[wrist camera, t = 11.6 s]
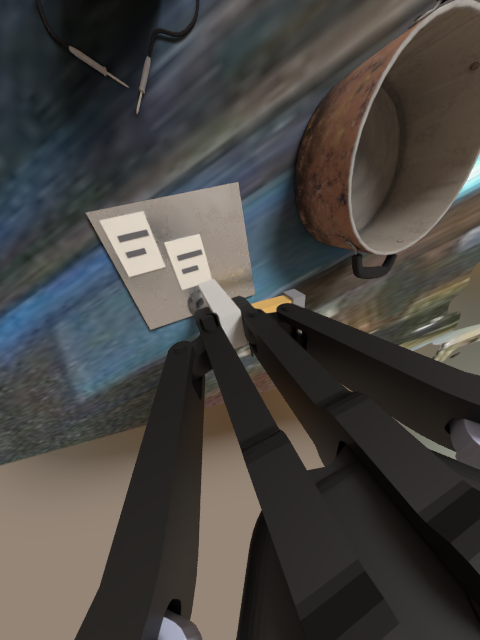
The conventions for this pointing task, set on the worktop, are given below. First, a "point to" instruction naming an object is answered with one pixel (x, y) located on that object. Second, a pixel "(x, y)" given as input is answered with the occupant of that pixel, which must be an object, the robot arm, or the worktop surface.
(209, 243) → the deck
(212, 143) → the worktop surface
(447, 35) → the cooking pot
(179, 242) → the label
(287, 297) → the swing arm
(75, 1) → the worktop surface
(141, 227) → the label
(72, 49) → the multimeter
